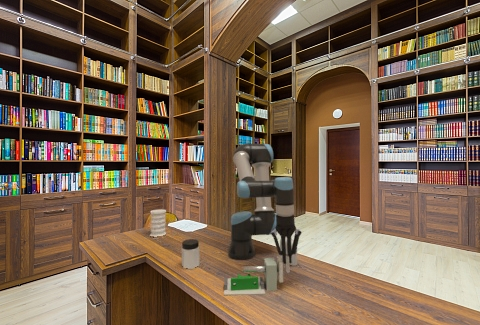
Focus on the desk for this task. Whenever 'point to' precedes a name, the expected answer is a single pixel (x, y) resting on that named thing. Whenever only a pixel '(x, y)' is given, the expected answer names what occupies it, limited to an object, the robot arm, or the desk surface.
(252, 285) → the pipe clamp
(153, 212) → the decorative container
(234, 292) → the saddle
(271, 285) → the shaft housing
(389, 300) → the desk surface
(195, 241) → the jar
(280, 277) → the shaft
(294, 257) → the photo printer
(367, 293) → the desk surface
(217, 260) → the desk surface
